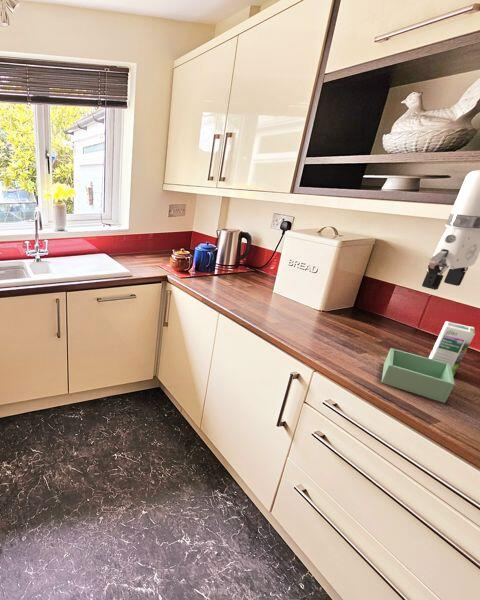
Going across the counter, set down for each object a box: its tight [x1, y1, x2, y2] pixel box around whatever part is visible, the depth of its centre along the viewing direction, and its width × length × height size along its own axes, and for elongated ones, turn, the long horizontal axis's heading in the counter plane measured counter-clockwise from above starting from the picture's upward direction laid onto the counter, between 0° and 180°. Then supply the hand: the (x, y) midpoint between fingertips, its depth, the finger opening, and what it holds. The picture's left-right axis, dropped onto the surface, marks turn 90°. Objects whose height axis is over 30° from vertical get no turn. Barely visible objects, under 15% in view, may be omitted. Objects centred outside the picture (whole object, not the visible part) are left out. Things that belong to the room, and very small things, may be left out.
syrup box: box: [428, 320, 476, 377], centre depth 97 cm, size 6×6×14 cm
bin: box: [381, 347, 455, 404], centre depth 93 cm, size 13×13×6 cm
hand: (440, 286), depth 91 cm, fingers open, 9 cm apart
